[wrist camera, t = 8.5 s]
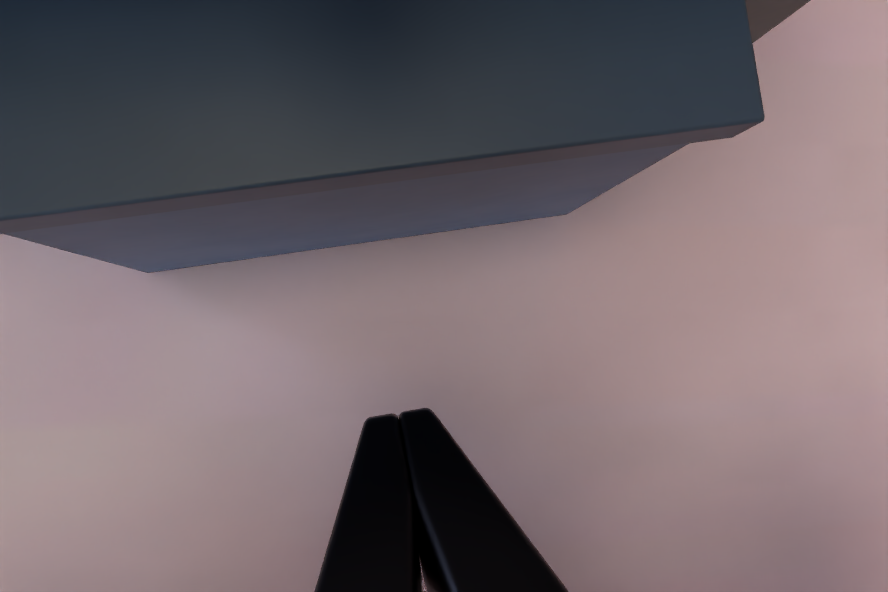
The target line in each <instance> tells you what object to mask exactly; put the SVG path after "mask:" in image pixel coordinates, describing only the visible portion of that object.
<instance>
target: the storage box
mask: <svg viewBox="0 0 888 592" xmlns="http://www.w3.org/2000/svg"><path fill="white" fill-rule="evenodd" d="M763 120H764V111H763V105H762V99H761V93H760V87H759V81H758V75H757V69H756V63H755V57H754V51H753V45H752V38H751V32H750V26H749V20H748V14H747V8H746V2H745V0H0V234H6V235H10V236H13V237H17V238H21V239H25V240H28V241H32V242H36V243H39V244H43V245H47V246H50V247H54V248H58V249H61V250H65V251H69V252H72V253H76V254H80V255H84V256H87V257H91V258H95V259H98V260H102V261H106V262H109V263H113V264H117V265H120V266H124V267H128V268H132V269H135V270H139V271H143V272H146V273H150V272H157V271H165V270H172V269H179V268H186V267H193V266H200V265H207V264H215V263H222V262H229V261H236V260H243V259H250V258H258V257H265V256H272V255H279V254H286V253H293V252H300V251H308V250H315V249H322V248H329V247H336V246H343V245H350V244H358V243H365V242H372V241H379V240H386V239H393V238H400V237H408V236H415V235H422V234H429V233H436V232H443V231H450V230H458V229H465V228H472V227H479V226H486V225H493V224H500V223H508V222H515V221H522V220H529V219H536V218H543V217H551V216H558V215H565V214H568V213H569V212H571V211H573V210H575V209H576V208H578V207H580V206H582V205H583V204H585V203H587V202H588V201H590V200H592V199H594V198H595V197H597V196H599V195H601V194H602V193H604V192H606V191H608V190H609V189H611V188H613V187H614V186H616V185H618V184H620V183H621V182H623V181H625V180H627V179H628V178H630V177H632V176H634V175H635V174H637V173H639V172H640V171H642V170H644V169H646V168H647V167H649V166H651V165H653V164H654V163H656V162H658V161H659V160H661V159H663V158H665V157H666V156H668V155H670V154H672V153H673V152H675V151H677V150H679V149H680V148H682V147H684V146H685V145H687V144H689V143H694V142H702V141H709V140H717V139H724V138H732V137H734V136H736V135H738V134H740V133H742V132H743V131H745V130H747V129H749V128H751V127H753V126H755V125H757V124H759V123H761V122H762V121H763Z"/></svg>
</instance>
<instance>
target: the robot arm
mask: <svg viewBox="0 0 888 592" xmlns="http://www.w3.org/2000/svg"><path fill="white" fill-rule="evenodd" d="M420 563H421V566H420ZM421 568H422V573H423V578H424V582H425V586H426V589H427V592H568V590H567V589H566V588H565V586H564V585H563V584H562V582H561V581H560V580H559V578H558V577H557V576H556V574H555V573H554V572H553V570H552V569H551V568H550V566H549V565H548V564H547V562H546V561H545V560H544V558H543V557H542V556H541V554H540V553H539V552H538V550H537V549H536V548H535V546H534V545H533V544H532V542H531V541H530V540H529V538H528V537H527V536H526V534H525V533H524V532H523V530H522V529H521V528H520V526H519V525H518V524H517V522H516V521H515V520H514V518H513V517H512V516H511V514H510V513H509V512H508V511H507V509H506V508H505V507H504V505H503V504H502V503H501V501H500V500H499V499H498V497H497V496H496V495H495V493H494V492H493V491H492V489H491V488H490V487H489V485H488V484H487V483H486V481H485V480H484V479H483V477H482V476H481V475H480V473H479V472H478V471H477V469H476V468H475V467H474V465H473V464H472V463H471V461H470V460H469V459H468V457H467V456H466V455H465V453H464V452H463V451H462V449H461V448H460V447H459V445H458V444H457V443H456V441H455V440H454V439H453V437H452V436H451V435H450V433H449V432H448V431H447V429H446V428H445V427H444V425H443V424H442V423H441V421H440V420H439V419H438V417H437V416H436V415H435V414H434V412H433V411H432V410H430V409H428V408H422V409H416V410H410V411H404V412H402V413H401V414H400V415H399V419H398V416H397V415H395V414H386V415H380V416H374V417H369V418H368V419H366V421H365V422H364V425H363V428H362V431H361V435H360V438H359V442H358V445H357V448H356V452H355V455H354V459H353V462H352V465H351V469H350V472H349V476H348V479H347V482H346V486H345V489H344V493H343V496H342V499H341V503H340V506H339V510H338V513H337V516H336V520H335V523H334V527H333V530H332V533H331V537H330V540H329V544H328V547H327V550H326V554H325V557H324V561H323V564H322V567H321V571H320V574H319V578H318V581H317V584H316V588H315V591H314V592H423V588H422V575H421Z"/></svg>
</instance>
